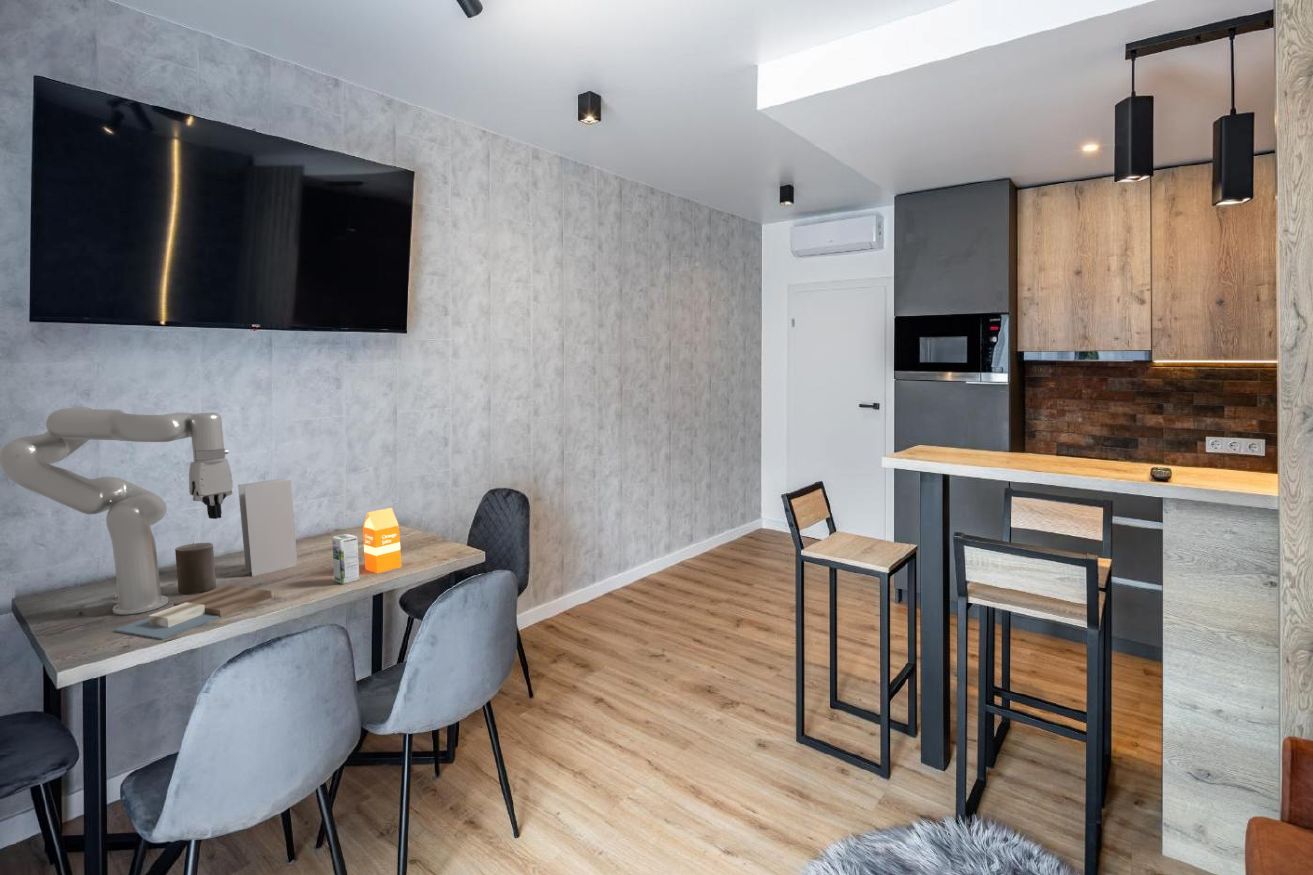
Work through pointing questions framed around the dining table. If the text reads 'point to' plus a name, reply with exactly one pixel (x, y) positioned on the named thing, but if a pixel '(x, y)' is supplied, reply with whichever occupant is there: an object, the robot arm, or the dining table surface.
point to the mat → (160, 631)
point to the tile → (176, 614)
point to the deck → (228, 599)
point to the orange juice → (381, 541)
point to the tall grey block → (267, 526)
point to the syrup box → (345, 558)
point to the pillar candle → (195, 568)
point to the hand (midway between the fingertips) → (215, 517)
